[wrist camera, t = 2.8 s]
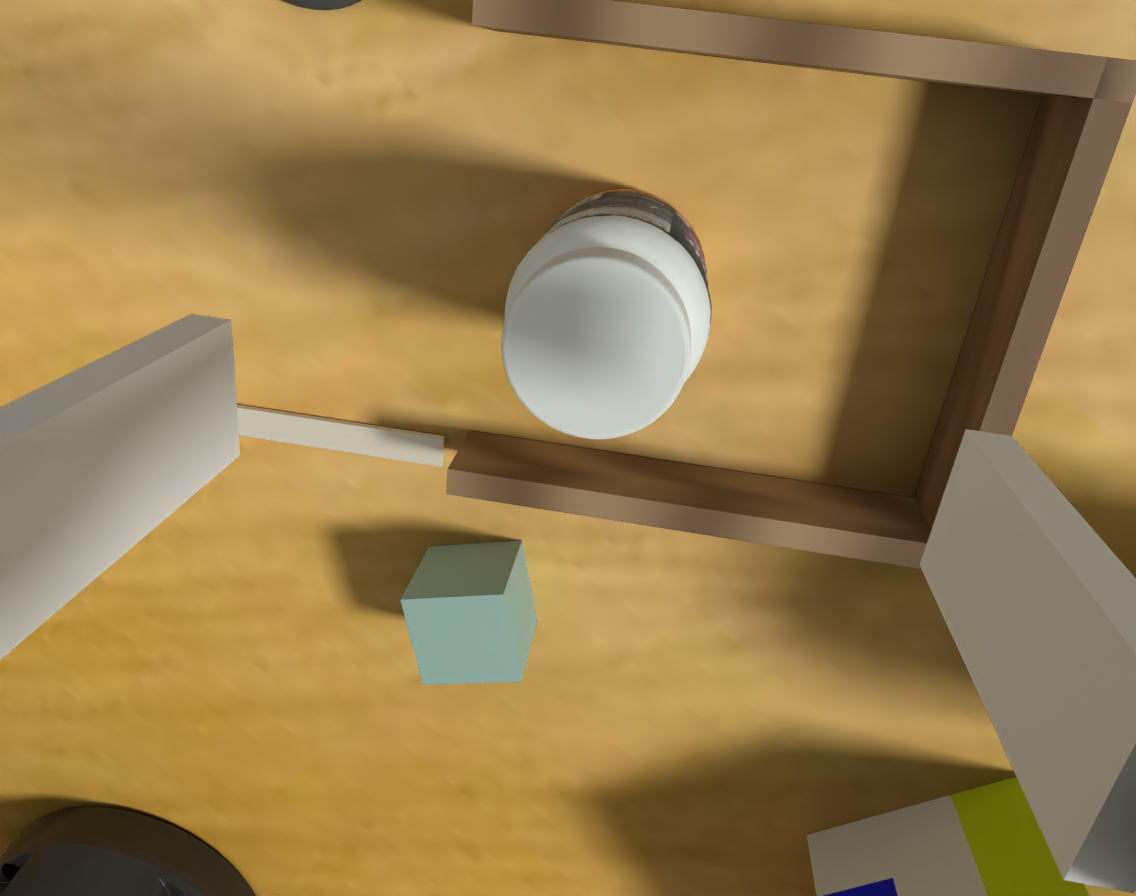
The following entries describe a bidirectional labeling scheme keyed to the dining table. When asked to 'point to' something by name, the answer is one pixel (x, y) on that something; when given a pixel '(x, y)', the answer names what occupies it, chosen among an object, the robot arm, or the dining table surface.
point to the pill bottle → (607, 315)
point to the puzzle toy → (942, 850)
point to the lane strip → (341, 435)
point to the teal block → (471, 613)
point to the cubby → (995, 335)
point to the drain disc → (323, 4)
